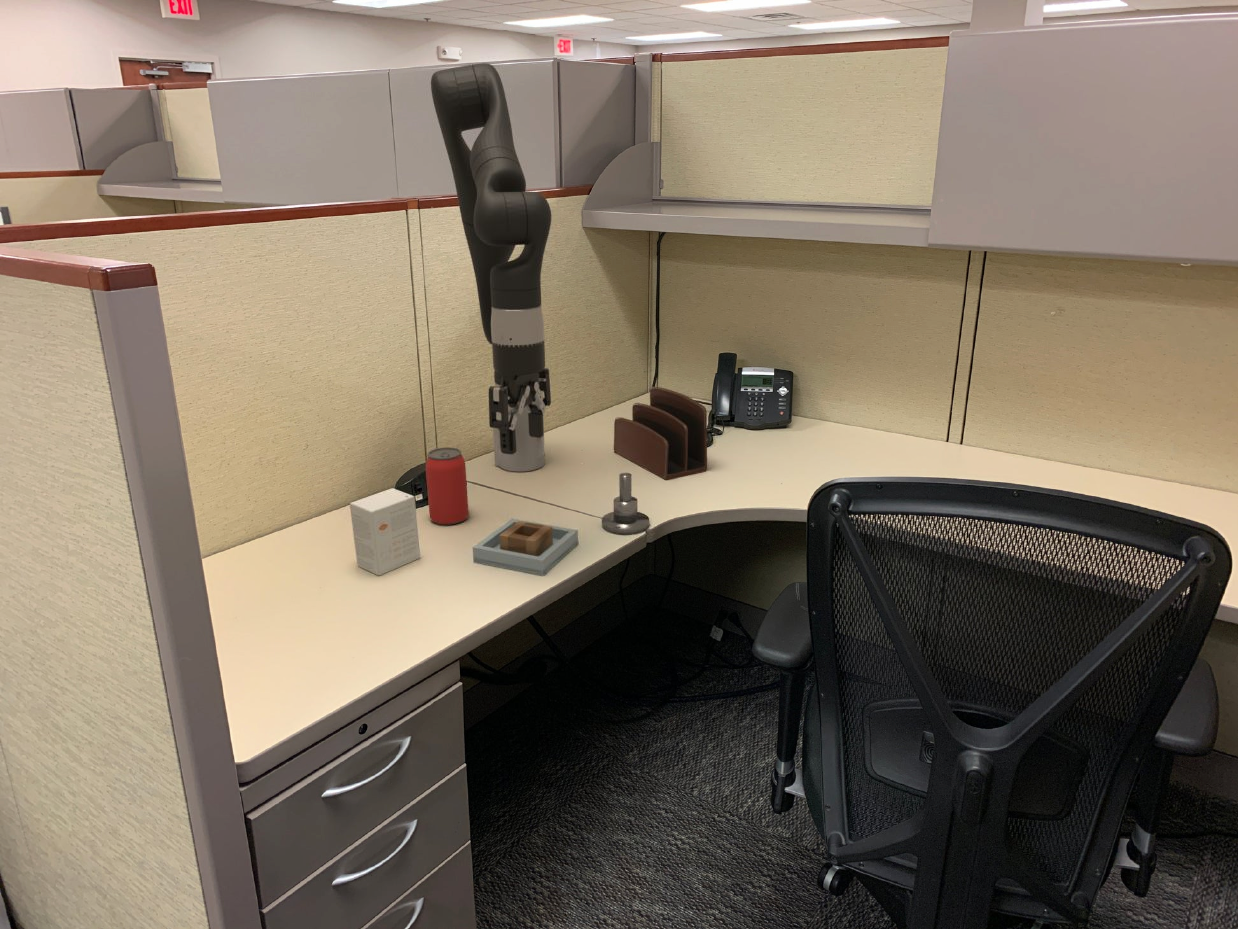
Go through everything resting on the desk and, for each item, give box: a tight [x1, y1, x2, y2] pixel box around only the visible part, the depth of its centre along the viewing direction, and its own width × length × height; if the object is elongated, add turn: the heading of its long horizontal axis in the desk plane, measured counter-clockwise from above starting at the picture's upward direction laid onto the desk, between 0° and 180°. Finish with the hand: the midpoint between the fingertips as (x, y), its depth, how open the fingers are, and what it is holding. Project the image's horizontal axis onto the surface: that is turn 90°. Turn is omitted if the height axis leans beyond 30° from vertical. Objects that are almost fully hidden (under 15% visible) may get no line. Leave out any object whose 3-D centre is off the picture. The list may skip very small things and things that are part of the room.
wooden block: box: [499, 521, 553, 556], centre depth 135 cm, size 6×6×3 cm
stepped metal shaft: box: [601, 472, 650, 536], centre depth 145 cm, size 8×8×9 cm
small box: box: [349, 487, 421, 576], centre depth 132 cm, size 8×6×10 cm
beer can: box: [425, 446, 470, 526], centre depth 147 cm, size 7×7×12 cm
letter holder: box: [613, 386, 708, 481], centre depth 174 cm, size 10×20×14 cm, turn 31°
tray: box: [472, 518, 579, 577], centre depth 136 cm, size 12×12×2 cm
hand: (523, 444), depth 130 cm, fingers open, 8 cm apart
